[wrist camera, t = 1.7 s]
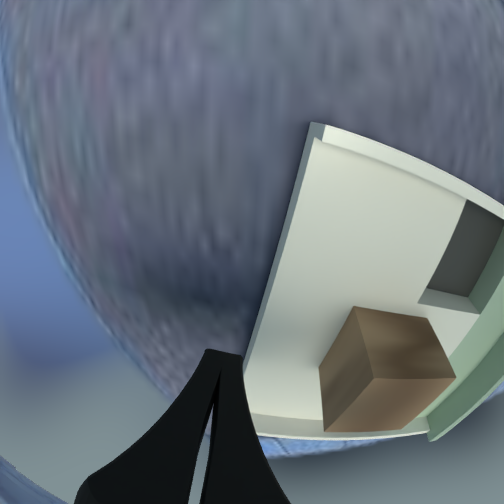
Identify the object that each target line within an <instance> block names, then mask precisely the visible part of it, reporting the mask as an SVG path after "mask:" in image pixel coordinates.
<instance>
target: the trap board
mask: <svg viewBox="0 0 504 504" xmlns="http://www.w3.org/2000/svg"><path fill="white" fill-rule="evenodd" d="M353 306H357V307H363V308H369V309H375V310H380V311H386V312H392V313H399V314H405V315H411V316H418V317H424V318H427V319H428V320H429V322H430V324H431V326H432V328H433V330H434V332H435V334H436V336H437V337H438V339H439V341H440V343H441V345H442V347H443V349H444V351H445V353H446V356H447V358H448V360H449V362H450V364H451V366H452V368H453V371H454V373H455V375H456V377H457V378H456V379H455V380H454V381H453V382H452V383H451V384H450V385H449V386H448V387H447V388H446V389H445V390H444V391H443V392H442V393H441V394H440V395H439V396H438V397H437V398H436V399H435V400H434V401H433V402H432V403H431V404H430V405H429V406H428V407H427V408H426V409H425V410H423V411H422V412H421V413H420V414H419V415H418V416H417V417H415V418H414V419H413V420H412V421H411V422H410V423H408V424H407V425H406V426H405V427H403V428H402V429H400V430H389V431H375V432H324V428H323V414H322V401H321V390H320V379H319V369H318V367H319V366H320V364H321V363H322V361H323V359H324V358H325V356H326V354H327V353H328V351H329V349H330V347H331V346H332V344H333V342H334V341H335V339H336V337H337V335H338V333H339V332H340V330H341V328H342V326H343V324H344V323H345V321H346V319H347V317H348V315H349V313H350V311H351V309H352V307H353ZM243 377H244V385H245V391H246V396H247V401H248V405H249V410H250V414H251V417H252V421H253V424H254V427H255V431H256V434H257V435H261V436H270V437H279V438H291V439H307V440H363V439H379V438H390V437H399V436H407V435H414V434H421V433H427V436H428V440H429V441H434V440H437V439H439V438H440V437H441V436H443V435H444V434H445V433H447V432H448V431H449V430H451V429H452V428H453V427H454V426H455V425H457V424H458V423H459V422H460V421H462V420H463V419H464V418H465V417H466V416H467V415H468V414H470V413H471V412H472V411H473V410H474V409H475V408H476V407H478V406H479V405H480V404H481V403H482V402H483V401H484V400H485V399H486V398H487V397H488V396H489V395H490V394H491V393H492V392H493V391H494V390H495V389H496V388H497V387H498V386H499V385H500V384H501V383H502V382H503V381H504V206H503V205H502V204H500V203H499V202H497V201H496V200H494V199H493V198H491V197H489V196H488V195H486V194H484V193H483V192H481V191H479V190H478V189H476V188H474V187H473V186H471V185H469V184H467V183H465V182H464V181H462V180H460V179H458V178H456V177H454V176H452V175H451V174H449V173H447V172H445V171H443V170H441V169H439V168H437V167H435V166H433V165H430V164H428V163H426V162H424V161H422V160H420V159H418V158H415V157H413V156H411V155H408V154H406V153H404V152H401V151H399V150H397V149H394V148H392V147H389V146H387V145H384V144H382V143H379V142H376V141H374V140H371V139H368V138H365V137H363V136H360V135H357V134H354V133H351V132H348V131H345V130H342V129H339V128H335V127H332V126H329V125H325V124H321V123H316V122H310V126H309V131H308V134H307V138H306V142H305V146H304V150H303V154H302V158H301V162H300V166H299V170H298V173H297V177H296V181H295V185H294V189H293V192H292V196H291V200H290V204H289V207H288V211H287V215H286V218H285V222H284V226H283V229H282V233H281V236H280V240H279V244H278V247H277V251H276V254H275V258H274V261H273V265H272V268H271V272H270V275H269V279H268V282H267V286H266V289H265V293H264V296H263V299H262V303H261V306H260V310H259V313H258V316H257V320H256V323H255V326H254V330H253V333H252V336H251V339H250V343H249V346H248V349H247V353H246V356H245V359H244V362H243Z"/></svg>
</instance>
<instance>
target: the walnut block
mask: <svg viewBox="0 0 504 504" xmlns="http://www.w3.org/2000/svg"><path fill="white" fill-rule="evenodd" d="M318 369H319V379H320V390H321V401H322V414H323V428H324V432H375V431H389V430H400V429H402V428H403V427H405V426H406V425H407V424H408V423H410V422H411V421H412V420H413V419H414V418H415V417H417V416H418V415H419V414H420V413H421V412H422V411H423V410H425V409H426V408H427V407H428V406H429V405H430V404H431V403H432V402H433V401H434V400H435V399H436V398H437V397H438V396H439V395H440V394H441V393H442V392H443V391H444V390H445V389H446V388H447V387H448V386H449V385H450V384H451V383H452V382H453V381H454V380H455V379H456V378H457V377H456V375H455V373H454V371H453V368H452V366H451V364H450V362H449V360H448V358H447V356H446V353H445V351H444V349H443V347H442V345H441V343H440V341H439V339H438V337H437V336H436V334H435V332H434V330H433V328H432V326H431V324H430V322H429V320H428V319H427V318H424V317H418V316H411V315H405V314H399V313H392V312H386V311H380V310H375V309H369V308H363V307H357V306H353V307H352V309H351V311H350V313H349V315H348V317H347V319H346V321H345V323H344V324H343V326H342V328H341V330H340V332H339V333H338V335H337V337H336V339H335V341H334V342H333V344H332V346H331V347H330V349H329V351H328V353H327V354H326V356H325V358H324V359H323V361H322V363H321V364H320V366H319V367H318Z"/></svg>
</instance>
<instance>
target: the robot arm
mask: <svg viewBox="0 0 504 504" xmlns="http://www.w3.org/2000/svg"><path fill="white" fill-rule="evenodd" d="M213 403H214V404H213ZM212 407H213V415H212V425H211V436H210V447H209V456H208V462H207V467H206V472H205V477H204V483H203V488H202V493H201V499H200V503H199V504H291V503H290V502H289V500H288V499H287V497H286V495H285V494H284V492H283V490H282V489H281V487H280V485H279V483H278V482H277V480H276V478H275V476H274V474H273V472H272V470H271V468H270V466H269V464H268V462H267V459H266V457H265V455H264V452H263V450H262V447H261V445H260V442H259V439H258V437H257V434H256V431H255V427H254V424H253V421H252V417H251V414H250V410H249V405H248V401H247V396H246V391H245V385H244V377H243V358H242V357H241V355H236V354H231V353H227V352H222V351H217V350H213V349H206V350H205V352H204V355H203V357H202V359H201V361H200V363H199V365H198V367H197V368H196V370H195V372H194V373H193V375H192V377H191V378H190V380H189V381H188V383H187V384H186V386H185V387H184V389H183V390H182V392H181V393H180V394H179V396H178V397H177V398H176V399H175V401H174V402H173V403H172V404H171V406H170V407H169V408H168V410H167V411H166V412H165V413H164V414H163V415H162V417H161V418H160V419H159V420H158V421H157V422H156V423H155V424H154V425H153V426H152V427H151V428H150V429H149V430H148V431H147V432H146V433H145V434H144V435H143V436H142V437H141V438H140V439H139V440H138V441H136V442H135V443H134V444H133V445H132V446H131V447H130V448H128V449H127V450H126V451H124V452H123V453H122V454H121V455H119V456H118V457H117V458H115V459H114V460H113V461H112V462H110V463H109V464H107V465H106V466H104V467H102V468H101V469H100V470H98V471H97V472H95V473H93V474H91V475H90V476H88V478H87V479H86V480H85V481H84V482H83V484H82V485H81V487H80V488H79V490H78V492H77V495H76V499H75V502H74V504H188V501H189V496H190V490H191V485H192V481H193V476H194V470H195V466H196V461H197V456H198V452H199V448H200V445H201V442H202V439H203V436H204V432H205V429H206V426H207V423H208V420H209V416H210V413H211V410H212ZM0 504H68V503H67V502H65V501H63V500H61V499H59V498H58V497H56V496H54V495H53V494H51V493H49V492H48V491H46V490H44V489H43V488H42V487H40V486H38V485H37V484H35V483H34V482H33V481H31V480H30V479H28V478H27V477H25V476H24V475H23V474H21V473H20V472H19V471H17V470H16V468H15V467H14V466H13V465H12V464H10V463H9V462H8V461H6V460H5V459H4V458H3V457H2V456H1V455H0Z"/></svg>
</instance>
